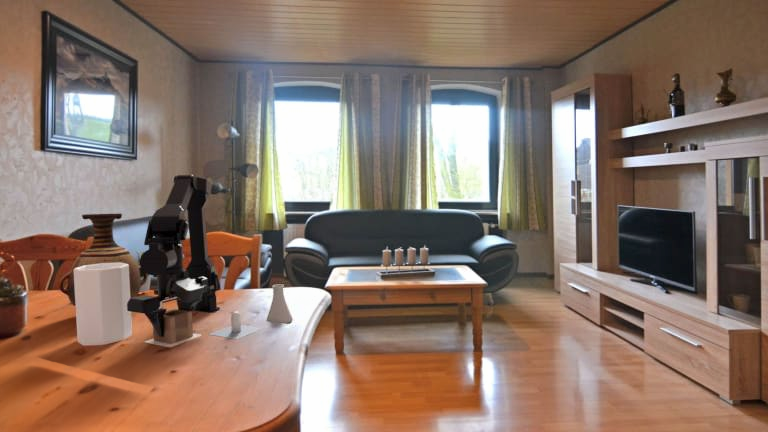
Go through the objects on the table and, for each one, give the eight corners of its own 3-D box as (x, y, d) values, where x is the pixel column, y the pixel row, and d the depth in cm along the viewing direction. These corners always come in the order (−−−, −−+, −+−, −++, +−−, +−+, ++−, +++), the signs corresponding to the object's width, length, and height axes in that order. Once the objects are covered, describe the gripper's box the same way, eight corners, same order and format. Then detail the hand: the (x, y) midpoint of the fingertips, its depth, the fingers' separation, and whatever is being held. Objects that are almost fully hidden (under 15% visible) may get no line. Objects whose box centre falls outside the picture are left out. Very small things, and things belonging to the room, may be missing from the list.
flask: (286, 326, 119) (285, 288, 118) (260, 325, 120) (259, 288, 120) (296, 318, 126) (295, 283, 125) (272, 317, 128) (271, 282, 127)
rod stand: (143, 346, 105) (142, 328, 104) (176, 335, 113) (175, 317, 113) (170, 352, 101) (169, 333, 101) (202, 339, 109) (201, 322, 109)
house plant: (173, 287, 169) (171, 244, 168) (155, 296, 155) (153, 249, 154) (135, 288, 168) (132, 245, 167) (113, 297, 155) (111, 250, 154)
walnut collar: (153, 340, 105) (152, 315, 105) (175, 332, 111) (174, 308, 110) (171, 343, 103) (170, 318, 102) (192, 336, 108) (191, 311, 108)
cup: (74, 354, 101) (69, 272, 100) (81, 339, 111) (76, 264, 110) (131, 345, 106) (127, 267, 105) (133, 332, 116) (129, 260, 115)
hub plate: (208, 339, 109) (207, 314, 109) (235, 328, 118) (235, 305, 117) (237, 344, 106) (236, 318, 105) (263, 332, 114) (262, 308, 113)
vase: (56, 328, 121) (49, 216, 119) (71, 311, 137) (65, 213, 135) (146, 317, 129) (141, 213, 127) (150, 303, 146) (145, 210, 144)
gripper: (158, 277, 94) (162, 350, 95) (225, 263, 111) (228, 325, 112) (123, 273, 99) (127, 343, 100) (193, 260, 115) (195, 320, 116)
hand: (173, 332), depth 107 cm, fingers closed on walnut collar, 6 cm apart
